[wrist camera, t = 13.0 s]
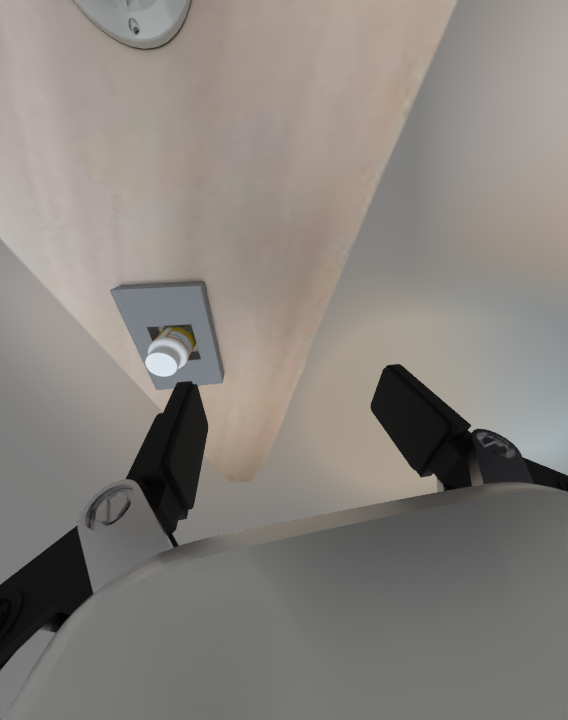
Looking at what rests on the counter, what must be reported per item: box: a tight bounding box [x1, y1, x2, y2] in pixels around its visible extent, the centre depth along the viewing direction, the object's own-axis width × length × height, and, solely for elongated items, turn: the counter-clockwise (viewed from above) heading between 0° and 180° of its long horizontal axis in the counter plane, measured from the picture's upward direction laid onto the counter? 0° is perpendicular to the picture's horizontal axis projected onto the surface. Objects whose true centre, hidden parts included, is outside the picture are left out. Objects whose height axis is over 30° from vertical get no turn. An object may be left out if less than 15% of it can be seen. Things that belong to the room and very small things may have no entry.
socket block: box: [110, 282, 224, 390], centre depth 34 cm, size 18×12×3 cm, turn 1°
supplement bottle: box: [145, 324, 196, 377], centre depth 31 cm, size 5×5×10 cm
